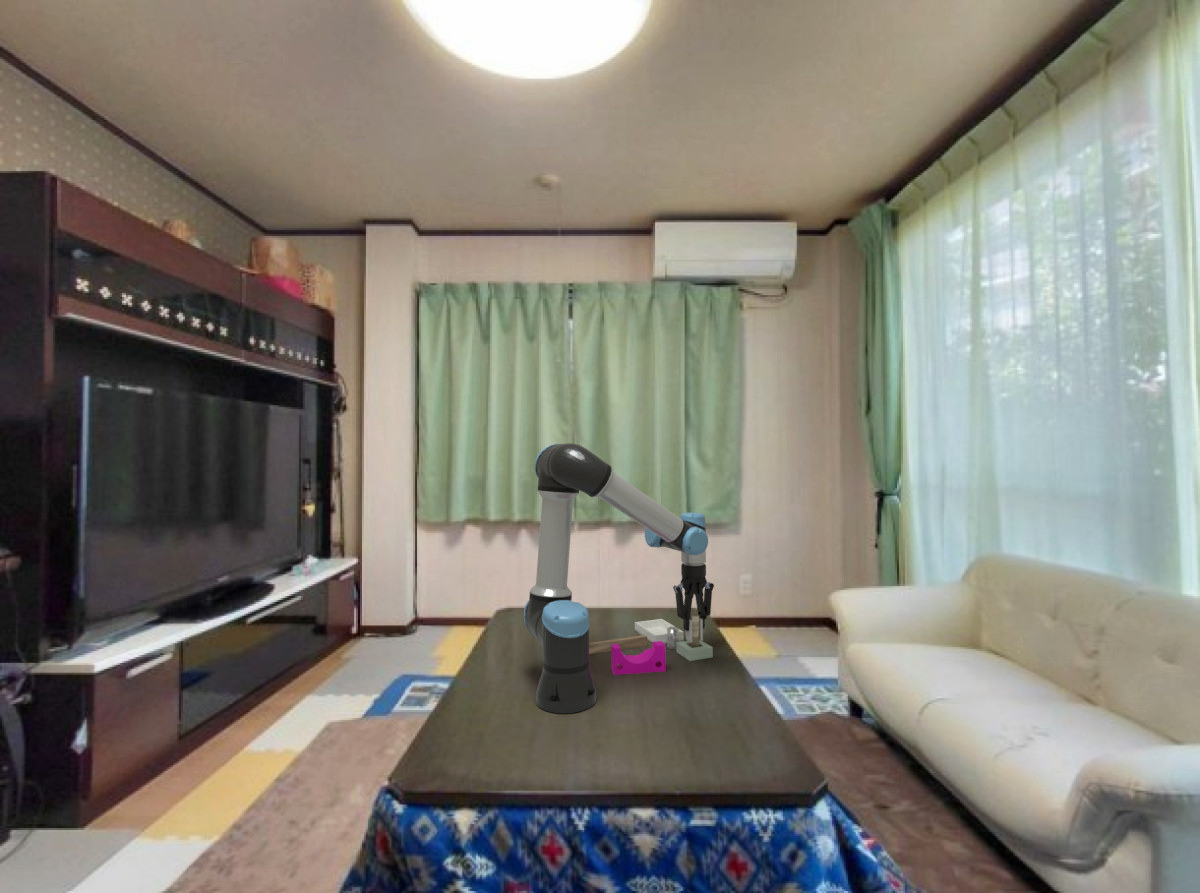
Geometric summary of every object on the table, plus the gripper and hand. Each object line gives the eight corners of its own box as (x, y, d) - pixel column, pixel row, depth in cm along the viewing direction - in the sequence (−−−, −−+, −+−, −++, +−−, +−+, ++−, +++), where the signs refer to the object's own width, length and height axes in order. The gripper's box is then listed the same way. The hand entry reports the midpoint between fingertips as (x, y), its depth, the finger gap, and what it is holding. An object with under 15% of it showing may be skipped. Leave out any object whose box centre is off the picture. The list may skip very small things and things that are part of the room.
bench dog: (680, 648, 173) (680, 629, 173) (670, 650, 172) (670, 631, 172) (675, 645, 176) (675, 626, 176) (665, 646, 175) (665, 627, 175)
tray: (683, 640, 180) (683, 631, 180) (655, 645, 176) (655, 635, 176) (661, 627, 195) (661, 618, 195) (634, 630, 191) (634, 622, 191)
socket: (712, 657, 165) (712, 647, 165) (689, 661, 163) (689, 650, 163) (698, 648, 173) (698, 639, 173) (676, 652, 170) (676, 642, 170)
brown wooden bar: (647, 645, 176) (647, 636, 176) (582, 655, 168) (582, 645, 168) (645, 644, 177) (645, 635, 177) (581, 653, 169) (581, 643, 169)
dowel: (701, 655, 167) (700, 616, 167) (692, 657, 166) (692, 617, 166) (696, 652, 170) (695, 613, 170) (687, 653, 169) (687, 614, 169)
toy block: (659, 663, 161) (659, 638, 161) (665, 672, 155) (665, 645, 155) (609, 667, 159) (609, 641, 159) (613, 675, 153) (613, 648, 153)
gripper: (709, 559, 175) (709, 633, 174) (664, 563, 169) (665, 639, 168) (722, 563, 168) (723, 640, 167) (676, 567, 162) (677, 647, 161)
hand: (694, 639), depth 168 cm, fingers closed on dowel, 3 cm apart
